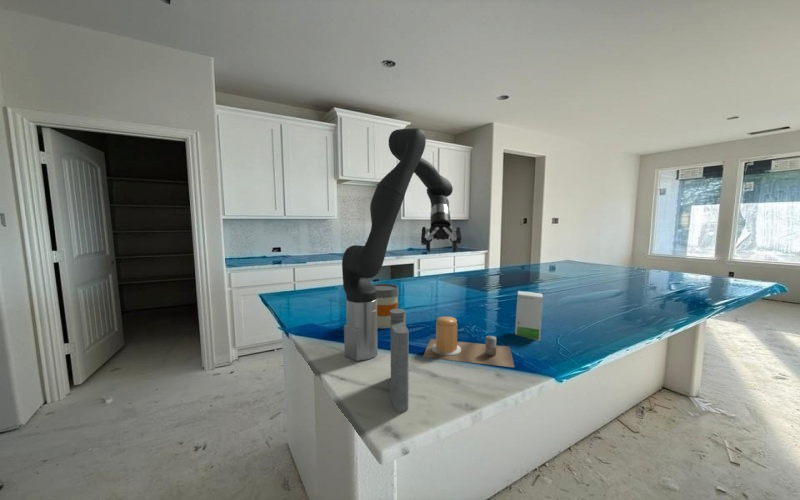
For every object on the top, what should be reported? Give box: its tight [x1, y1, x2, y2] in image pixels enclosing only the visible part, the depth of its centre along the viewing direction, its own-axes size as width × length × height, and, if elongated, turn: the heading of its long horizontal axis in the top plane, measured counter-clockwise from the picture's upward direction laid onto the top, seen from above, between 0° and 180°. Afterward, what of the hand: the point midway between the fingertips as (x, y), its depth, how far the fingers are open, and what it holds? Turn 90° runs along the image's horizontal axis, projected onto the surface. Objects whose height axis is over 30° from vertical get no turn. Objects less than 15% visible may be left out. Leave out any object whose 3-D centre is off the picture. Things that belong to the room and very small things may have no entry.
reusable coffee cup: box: [371, 283, 400, 329], centre depth 119 cm, size 13×13×15 cm
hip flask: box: [390, 308, 410, 413], centre depth 72 cm, size 16×4×20 cm, turn 2°
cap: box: [435, 316, 458, 353], centre depth 93 cm, size 6×6×9 cm
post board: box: [422, 335, 515, 368], centre depth 91 cm, size 25×14×6 cm, turn 75°
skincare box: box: [514, 290, 544, 342], centre depth 106 cm, size 8×7×16 cm
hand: (441, 250), depth 106 cm, fingers open, 8 cm apart
